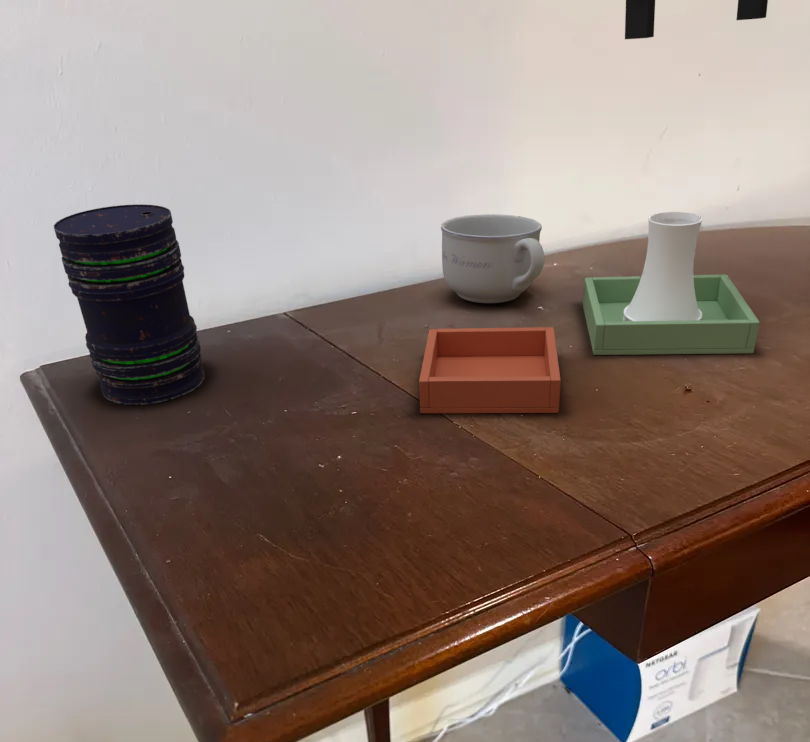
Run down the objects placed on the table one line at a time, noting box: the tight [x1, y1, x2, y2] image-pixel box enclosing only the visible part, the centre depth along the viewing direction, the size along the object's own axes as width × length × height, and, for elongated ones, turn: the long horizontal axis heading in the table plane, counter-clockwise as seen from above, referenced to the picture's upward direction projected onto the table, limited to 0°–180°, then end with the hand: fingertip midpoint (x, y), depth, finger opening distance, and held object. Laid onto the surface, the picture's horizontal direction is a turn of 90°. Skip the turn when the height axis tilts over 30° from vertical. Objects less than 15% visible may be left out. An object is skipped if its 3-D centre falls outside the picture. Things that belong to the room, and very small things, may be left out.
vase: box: [623, 211, 703, 321], centre depth 79 cm, size 8×8×10 cm
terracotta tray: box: [418, 326, 562, 414], centre depth 72 cm, size 12×12×3 cm
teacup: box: [440, 213, 545, 304], centre depth 88 cm, size 14×11×8 cm
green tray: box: [582, 274, 761, 356], centre depth 81 cm, size 15×14×3 cm
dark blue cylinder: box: [53, 203, 206, 406], centre depth 73 cm, size 10×10×15 cm
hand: (696, 28), depth 72 cm, fingers open, 13 cm apart
